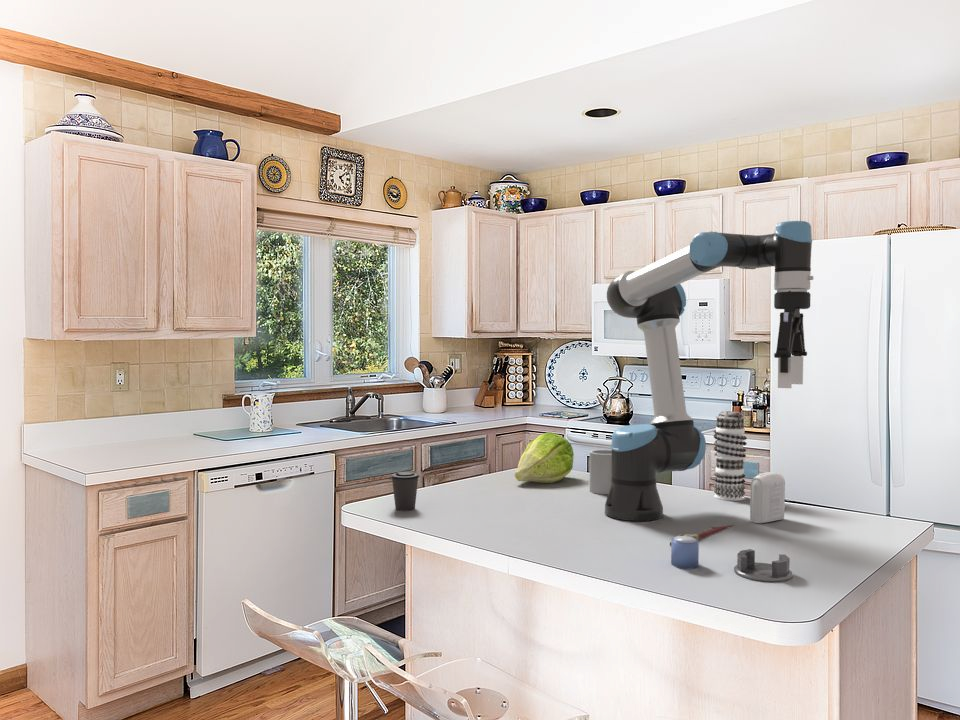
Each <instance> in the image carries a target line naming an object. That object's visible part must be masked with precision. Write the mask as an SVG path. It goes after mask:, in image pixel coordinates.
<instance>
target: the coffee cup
mask: <svg viewBox="0 0 960 720" xmlns="http://www.w3.org/2000/svg"><path fill="white" fill-rule="evenodd" d="M420 477H421V475H420V474H419V473H418V472H417V473H416V472H414V471H408V470H407V471H403V470H402V471H398V472H394V473H392V474H391V475H390V478H391V481H392V489H393V497H394V498H393V499H394V506H395V507H394V508H395V510H396V511H403V512H404V511H413V510H415V509H416V501H417V492H418V481H419V478H420Z"/></svg>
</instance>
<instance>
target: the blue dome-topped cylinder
mask: <svg viewBox="0 0 960 720" xmlns="http://www.w3.org/2000/svg"><path fill="white" fill-rule="evenodd" d="M699 541H700V540H696V539H695V538H693V537H688V536H679V535H678V536H674V537H673V538H672V539H671V540H670V542H671V546H670V549H671V550H670V553H671V554H670V557H671V558H670V560H671V561H670V564H671V566H673V567H675V568H679V569H687V570H689V569H691V570H692V569H696V568H698V567H699V566H700V565H699V563H700V562H699V559H700V557H699V555H700V553H699V549H700V548H699V547H700V546H699V545H700V544H699V543H700V542H699Z"/></svg>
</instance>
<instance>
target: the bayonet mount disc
mask: <svg viewBox="0 0 960 720" xmlns="http://www.w3.org/2000/svg"><path fill="white" fill-rule="evenodd" d="M755 551H756V550H755V549H752V548H749V549H742V550H739V551H738V553H737V562H736V563H737V564H736V565H735V566H734V567H733V572H734V573H735V574H736V575H737V576H739V577H741V578H745V579H748V580H752V581H757V582H764V583H782V582H787V581H789V580H791V579H793V577H794V576H793V575H794V574H793V571H792V570H791V569H790V557H789V556H787V554H784V553H783V554H782V553H781V554H778V560H772V561H771V563H767V562H757V561H756V559H755V558H756V554H755V553H756V552H755Z"/></svg>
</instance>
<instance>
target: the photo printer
mask: <svg viewBox="0 0 960 720" xmlns="http://www.w3.org/2000/svg"><path fill="white" fill-rule="evenodd" d="M785 492H786V480H785V478H784V476H783V475H782V474H780V473H778V472H772V471H766V472H762V473H760V474H756V476H754V477H753V478H752V480H751V482H750V502H749V503H750V506H749V514H750V515H749V519H750V521H751V522H752V523H755V524H763V523H764V524H765V523H770V522H775V521H780V520H784V519H785V499H786V497H785V495H786V493H785Z"/></svg>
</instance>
